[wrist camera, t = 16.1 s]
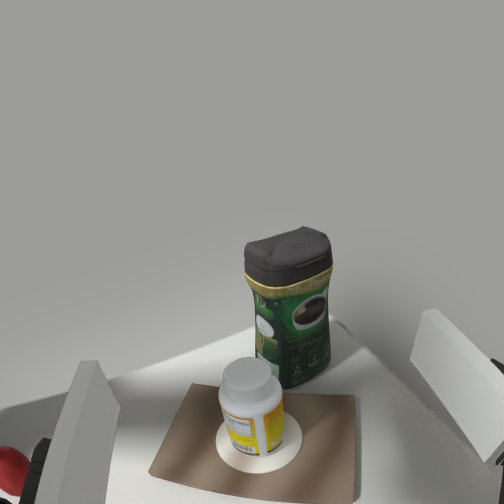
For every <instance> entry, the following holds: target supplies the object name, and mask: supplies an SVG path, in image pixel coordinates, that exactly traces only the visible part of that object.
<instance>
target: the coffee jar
mask: <svg viewBox="0 0 504 504" xmlns="http://www.w3.org/2000/svg"><path fill="white" fill-rule="evenodd" d="M244 257H245V271H244V273H245V277H246V280H247V282H248V284H249V286H250V287H251V289H252V291H253V295H254V303H255V322H256V323H255V325H256V327H255V329H256V337H255V356H256V358H258V359H261V360H263V361H265V362H266V363H267V364H268V365H269V367H270V369H271V374H272V375H274V376H275V377H276V378H277V379H278V381H279V382H280V384H281V387H282V388H290V387H293V386H296V385H298V384H301V383H302V382H305V381H307V380H309V379H310V378H312V377H313V376H315V375H317V374H318V373H319V372H321V371H322V370H323V369H325V368H326V367H327V365H328V364H329V362H330V334H329V317H328V288H329V281H330V277H331V273H332V269H333V260H332V252H331V244H330V241H329V239H328V237H327V236H326V234H324V233H322V232H319V231H317V230H314V229H311V228H308V227H304V226H302V227H301V228H299V229H296V230H293V231H290V232H286V233H283V234H279V235H276V236H273V237H270V238H266V239H263V240H259V241H254V242H249V243H247V245H246V246H245V250H244Z"/></svg>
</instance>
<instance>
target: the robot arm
mask: <svg viewBox="0 0 504 504" xmlns="http://www.w3.org/2000/svg"><path fill="white" fill-rule="evenodd" d="M410 361H411V362H412V363H413V365H414V366H415V367H416V369H417V370H418V371H419V372H420V374H421V375H422V376H423V377H424V379H425V380H426V382H427V383H428V384H429V386H430V387H431V388H432V390H433V391H434V392H435V393H436V395H437V396H438V398H439V399H440V400H441V402H442V403H443V404H444V406H445V407H446V409H447V410H448V411H449V413H450V414H451V415H452V417H453V418H454V419H455V421H456V422H457V424H458V425H459V427H460V428H461V430H462V431H463V432H464V433H465V435H466V437H467V438H468V440H469V441H470V442H471V444H472V445H473V447H474V448H475V450H476V451H477V453H478V454H479V456H480V457H481V459H482V460H483V462H484V463H485V462H486V461H488V460H489V459H490V458H492V457H493V456H494V455H496V454H497V453H498V452H499V451H500V450H501V448H502V447H503V446H504V365H503V364H502V363H500V362H498V361H496V360H495V359H491V360H489V359H488V358H487V357H486V356H485V355H484V354H483V353H482V352H481V351H480V350H479V349H478V348H477V347H476V346H475V345H474V344H473V343H472V342H471V341H470V340H469V339H468V338H467V337H466V336H465V335H464V334H463V333H462V332H461V331H460V330H459V329H458V328H457V327H456V326H455V325H454V324H453V323H452V322H450V321H449V320H448V319H447V318H446V317H445V316H444V315H443V314H442V313H441V312H440V311H439V310H438V309H436V308H432V309H428V310H425V311H422V314H421V319H420V323H419V327H418V330H417V335H416V338H415V342H414V346H413V349H412V352H411V356H410ZM120 408H121V406H120V404H119V403H118V401H117V399H116V397H115V395H114V393H113V391H112V389H111V387H110V385H109V383H108V381H107V379H106V377H105V375H104V374H103V371H102V369H101V367H100V365H99V363H98V361H81V362H80V364H79V367H78V369H77V372H76V374H75V376H74V379H73V382H72V384H71V387H70V389H69V392H68V394H67V397H66V400H65V402H64V405H63V408H62V411H61V414H60V416H59V419H58V422H57V425H56V428H55V431H54V434H53V437H52V439H48V438H42V440H41V441H40V442H39V443H38V445H37V446H36V447H35V449H34V452H33V455H32V458H31V462H30V465H29V468H28V470H29V472H27V475H26V478H25V482H24V486H23V489H22V493H21V497H20V501H19V504H105V499H106V491H107V484H108V477H109V470H110V463H111V457H112V451H113V445H114V439H115V434H116V428H117V423H118V418H119V413H120ZM503 458H504V452H503V453H502V454H501V455H500V457H499V458H498V459H497V460H496V465H498V464H499V463H500V462H501V460H503ZM501 465H503V475H502V484H501V491H500V498H499V504H504V460H503V461H502V463H501ZM0 504H12V503H10V502H9V501H8V500H7V499H4V498H0Z"/></svg>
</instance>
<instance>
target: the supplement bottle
mask: <svg viewBox="0 0 504 504" xmlns="http://www.w3.org/2000/svg"><path fill="white" fill-rule="evenodd" d="M223 378H224V382H223V383H222V384H221V386H220V389H219V401H220V405H221V409H222V412H223V416H224V419H225V423H226V426H227V430H228V433H229V436H230V440H231V442H232V444H233V446H234V448H235V449H236V450H237V451H239V452H240V453H242V454H244V455H246V456H250V457H262V456H266V455H269V454H271V453H273V452H274V451H276V450H277V449H278V448H279V447H280V446H281V444H282V442H283V440H284V415H283V397H282V387H281V384H280V382H279V381H278V379H277V378H276V377H275V376H274V375H272V374H271V369H270V367H269V365H268V364H267V363H266V362H265V361H263V360H261V359H258V358H252V357H247V358H241V359H237V360H235V361H233V362H232V363H230V364H229V365H228V366H227V367H226V369H225V370H224V374H223Z"/></svg>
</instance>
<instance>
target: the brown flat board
mask: <svg viewBox="0 0 504 504" xmlns="http://www.w3.org/2000/svg"><path fill="white" fill-rule="evenodd" d="M219 389H220V387H214V386H206V385H199V384H193V383H192V385H191V387H190V389H189V391H188V393H187V395H186V397H185V399H184V401H183V403H182V405H181V407H180V409H179V411H178V413H177V415H176V417H175V419H174V421H173V423H172V425H171V427H170V429H169V431H168V433H167V435H166V437H165V439H164V441H163V443H162V445H161V447H160V449H159V451H158V453H157V455H156V457H155V459H154V461H153V463H152V465H151V467H150V469H149V471H148V472H149V473H150V475H151V476H154V477H158V478H161V479H164V480H168V481H171V482H175V483H178V484H182V485H186V486H190V487H194V488H198V489H202V490H207V491H212V492H216V493H222V494H227V495H233V496H238V497H245V498H252V499H259V500H268V501H277V502H289V503H305V504H352V503H353V501H354V480H355V401H354V395H318V394H291V393H282V397H283V415H284V440H283V442H282V444H281V446H280V447H279V448H278V449H277V450H276V451H274V452H273V453H271V454H269V455H266V456H262V457H250V456H246V455H244V454H242V453H240V452H239V451H237V450H236V449H235V448H234V446H233V444H232V442H231V440H230V436H229V433H228V430H227V426H226V423H225V419H224V416H223V412H222V409H221V405H220V401H219Z"/></svg>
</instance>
